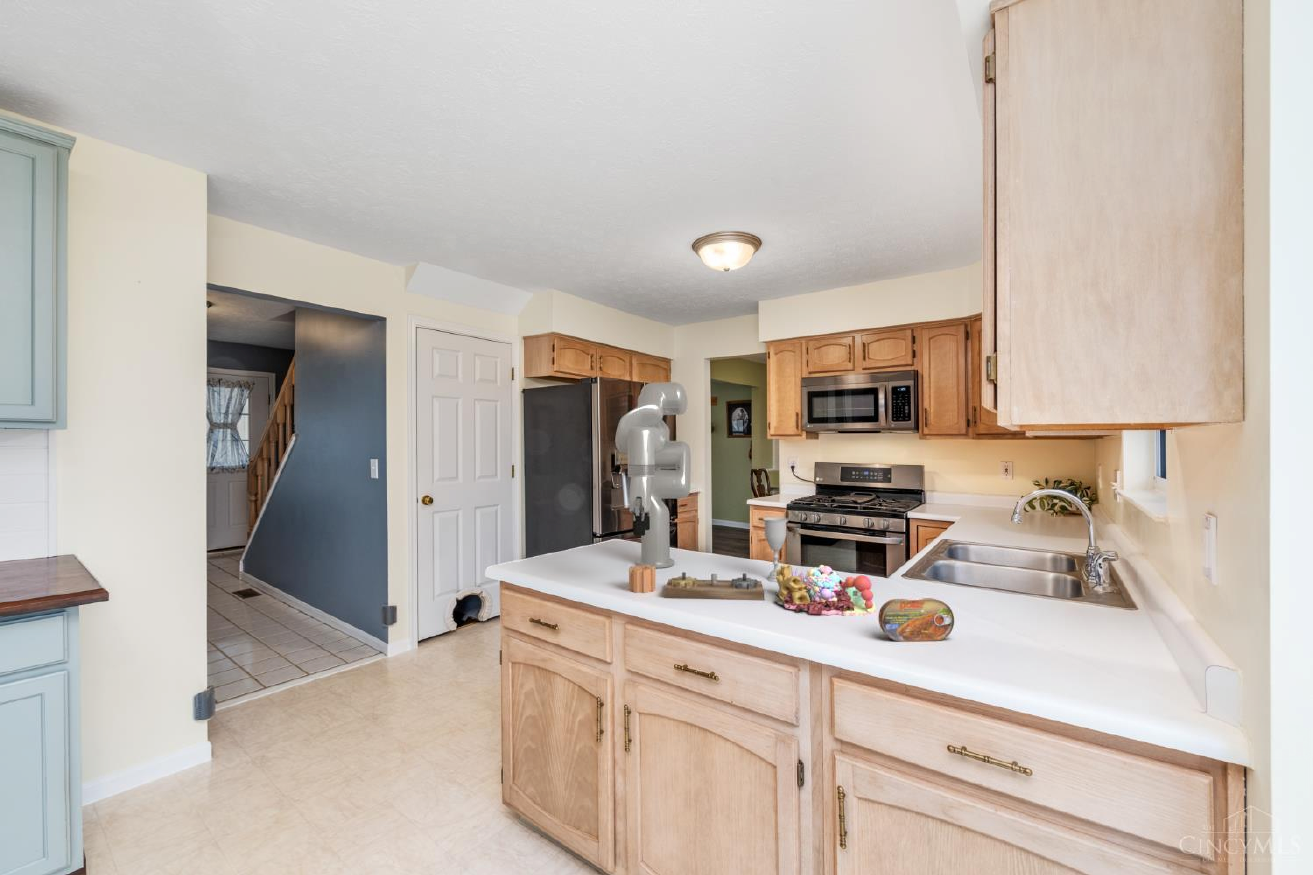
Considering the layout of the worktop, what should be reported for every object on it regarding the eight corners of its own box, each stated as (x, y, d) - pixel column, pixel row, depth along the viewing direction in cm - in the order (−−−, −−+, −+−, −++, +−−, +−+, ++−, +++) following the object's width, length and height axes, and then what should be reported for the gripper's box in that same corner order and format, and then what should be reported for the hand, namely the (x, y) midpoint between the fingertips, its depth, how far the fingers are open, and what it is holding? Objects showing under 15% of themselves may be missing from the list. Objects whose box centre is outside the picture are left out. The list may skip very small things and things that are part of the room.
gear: (631, 585, 163) (631, 564, 163) (656, 586, 162) (656, 565, 162) (627, 592, 156) (627, 570, 156) (653, 593, 155) (653, 571, 155)
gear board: (668, 586, 162) (668, 567, 162) (761, 588, 159) (761, 569, 159) (664, 597, 150) (664, 577, 150) (764, 600, 147) (764, 579, 147)
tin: (882, 642, 116) (882, 601, 116) (876, 637, 119) (876, 596, 119) (955, 641, 117) (955, 600, 117) (947, 635, 120) (946, 595, 120)
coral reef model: (786, 618, 133) (786, 579, 133) (763, 591, 156) (763, 558, 157) (891, 616, 134) (891, 577, 134) (853, 590, 157) (853, 556, 157)
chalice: (787, 577, 171) (786, 517, 172) (790, 582, 165) (789, 520, 165) (762, 576, 172) (761, 517, 172) (764, 582, 165) (763, 520, 165)
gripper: (632, 469, 168) (633, 527, 168) (622, 473, 151) (623, 537, 151) (658, 469, 167) (658, 528, 167) (650, 472, 150) (651, 537, 150)
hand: (641, 532), depth 159 cm, fingers open, 9 cm apart
